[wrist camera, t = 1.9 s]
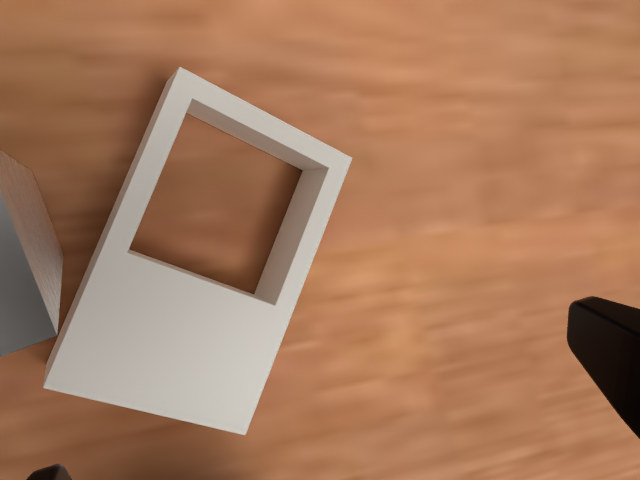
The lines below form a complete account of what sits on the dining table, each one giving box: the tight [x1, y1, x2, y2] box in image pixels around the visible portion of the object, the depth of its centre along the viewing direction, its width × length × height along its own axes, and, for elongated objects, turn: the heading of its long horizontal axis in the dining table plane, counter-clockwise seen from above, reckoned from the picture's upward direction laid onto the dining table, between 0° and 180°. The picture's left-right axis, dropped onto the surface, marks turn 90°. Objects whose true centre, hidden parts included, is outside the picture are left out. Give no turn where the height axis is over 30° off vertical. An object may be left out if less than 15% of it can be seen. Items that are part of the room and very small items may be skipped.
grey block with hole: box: [43, 67, 352, 435], centre depth 20 cm, size 11×7×2 cm, turn 156°
